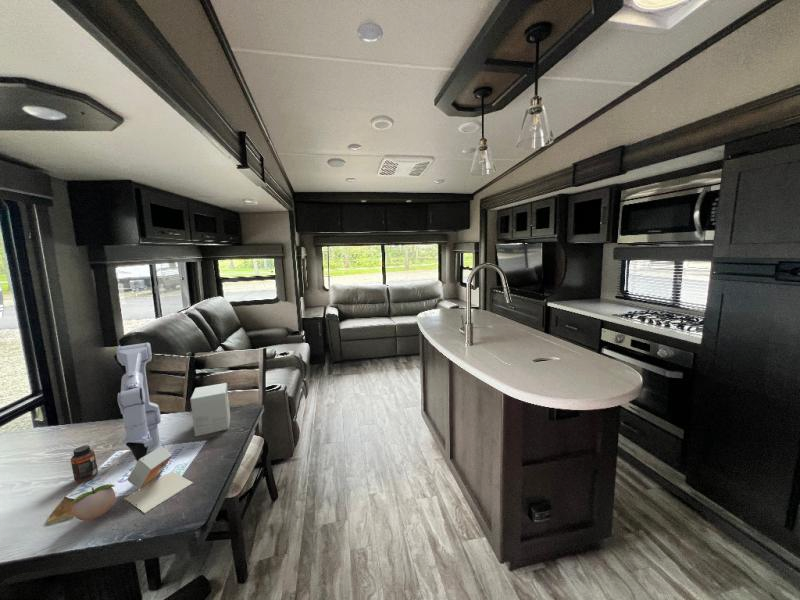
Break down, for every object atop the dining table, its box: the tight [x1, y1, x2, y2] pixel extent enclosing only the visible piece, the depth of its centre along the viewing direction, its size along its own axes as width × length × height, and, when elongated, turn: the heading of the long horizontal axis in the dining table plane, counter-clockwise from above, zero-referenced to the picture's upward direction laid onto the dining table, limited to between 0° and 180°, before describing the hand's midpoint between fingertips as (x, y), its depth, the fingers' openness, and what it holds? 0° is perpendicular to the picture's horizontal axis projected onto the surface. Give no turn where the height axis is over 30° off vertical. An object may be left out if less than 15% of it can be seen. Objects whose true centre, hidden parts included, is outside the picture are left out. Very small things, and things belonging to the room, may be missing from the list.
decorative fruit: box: [71, 483, 116, 522], centre depth 92 cm, size 9×8×10 cm
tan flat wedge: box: [46, 496, 75, 525], centre depth 97 cm, size 11×8×2 cm
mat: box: [123, 471, 194, 514], centre depth 103 cm, size 13×14×1 cm
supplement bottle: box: [70, 444, 99, 483], centre depth 109 cm, size 6×6×11 cm
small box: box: [126, 445, 173, 491], centre depth 106 cm, size 8×6×10 cm
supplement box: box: [190, 382, 231, 437], centre depth 141 cm, size 13×13×18 cm
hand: (141, 459), depth 106 cm, fingers closed
